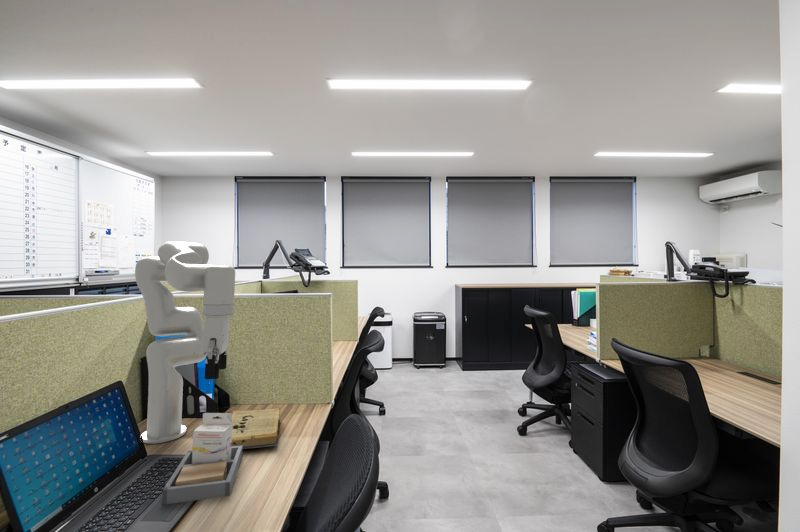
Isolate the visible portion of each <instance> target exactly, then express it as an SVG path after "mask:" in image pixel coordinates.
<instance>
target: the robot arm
mask: <svg viewBox="0 0 800 532" xmlns="http://www.w3.org/2000/svg"><path fill="white" fill-rule="evenodd" d="M209 259H210V253H209V250H208V248H207V247H206V246H205V245H204V244H202V243H198V242H188V241H177V240H176V241H166V242H164V243H163V244H161V245H160V246H159V247H158V250H157V256H148V257H143V258H141V259H139V260H138V261H137V262H136V264H135V269H134V276H135V282H136V285H137V287H138V290H139V291H140V294H141V295H142V298H143V301H144V305H145V306H144V307H145V314H146V315H145V316H146V322H147V327H148V331H149V333H150V335H152V336H154V337H165V338H160V339H156V340H154V341H152V342H151V343H150V344H149V345H148V346H147V348H146V352H145V353H146V354H145V355H146V362H147V371H148V392H147V393H148V394H147V395H148V396H147V415H146V416H147V419H146V430H145V431H144V432H142V434H140V437H141V436H142V439H143V442H142V443H143V444H152V445H154V444H163V443H167V442H171V441H173V440H176V439H179V438H181V437H183V436H184V435H185V434H186V432H187V426H186V425H183V424H182V417H183V415H182V414H183V413H182V412H183V395H184V393H183V390H184V389H183V387H184V380H183V377H182V375H181V374H180V373H179V372H178V370H176V367H180V366H186V365H191V364H196V363H197V364H198V363H201V362H202V361H204V360H205V362H204V363H205V364H204V379H205V380H218V379H219V378H220V377H219V376H220V370H226V369H227V361H228V360H227V359H228V355H227V354H228V353H227V352H228V351H227V350H228V348H229V339H230V318H231V317H234V312H235V286H236V269H235V268H234V267H233V266H231V265H230V266H229V265H217V264H215V265H214V264H208V262H209ZM162 282H167V283H168V284H169V285H170V286H171V287H172V288H173V289H174V290H177V291H179V292H203V302H202V303H203V305H202V307H203V308H202V314H201V312H200V311H199V310H198V309H197V308H196V307H193V306H181V307H179V306H176V303H175V297H174V294H173V293H172V292H171V290H170V289H169V288H168V287H167V286H166V285H165V284H162ZM203 317H204V318H205V320H204V322H203ZM177 335H178V336H177ZM179 335H184V336H179ZM169 336H174V337H169ZM175 336H176V337H175Z"/></svg>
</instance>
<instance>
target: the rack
mask: <svg viewBox="0 0 800 532" xmlns="http://www.w3.org/2000/svg"><path fill="white" fill-rule="evenodd" d="M243 450H244V449H243V445H242V446H232V447H231V460H225V461H227V475H228V477H227V479H226V480H223V481H215V482H207V483H199V484H190V485H182V486H175V484H176V480H177V478H178V476H179V474H180V472H181V470H182V468H183V467H187V466H195V465H202V464H209V463H217V462H224V461H216V462H206V463H197V464H192V451H193V449H192V450H187V452H186V453H185V455H184V457H182V459H181V461H180V463H179V465H178V466H177V467H176V469H175V470H174V472H173V473H172V475H171V476H170V478H169V480H168V481H167V483H165V486H164V487H163V489H162V494H161V495H162V496H161V505H163V506H164V505H170V504H178V503H186V502H192V501H199V500H200V501H201V500H208V499H215V498H217V499H218V498H223V497H230V496H231V493H232V489H233V486H234V483H235V480H236V477H237V475H238V471H239V469H240V465H241V462H242V459H243Z"/></svg>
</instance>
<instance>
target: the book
mask: <svg viewBox="0 0 800 532" xmlns="http://www.w3.org/2000/svg"><path fill="white" fill-rule="evenodd" d="M280 412H281V407H280V406H276V407H275V408H269V409H253V410H252V409H251V410H234V409H233V411H232V413H231V414H232V446H242V445H243V450H247V449H256V448H265V447H266V448H267V447H277V445H278V439H279V436H280V434H281V433H280V432H281V431H280V430H281V422H280V421H281V419H280V414H281V413H280ZM232 446H231V447H232Z"/></svg>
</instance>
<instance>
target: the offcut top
mask: <svg viewBox="0 0 800 532" xmlns="http://www.w3.org/2000/svg"><path fill="white" fill-rule="evenodd" d="M226 469H227V461H224V462H217V463H209V464H202V465H195V466H187V467H183V468H182V470H181V472H180V474H179V476H178V478H177V480H176V484H175V486H182V485H190V484H199V483H207V482H215V481H223V480H224V477H225V473H226Z"/></svg>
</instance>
